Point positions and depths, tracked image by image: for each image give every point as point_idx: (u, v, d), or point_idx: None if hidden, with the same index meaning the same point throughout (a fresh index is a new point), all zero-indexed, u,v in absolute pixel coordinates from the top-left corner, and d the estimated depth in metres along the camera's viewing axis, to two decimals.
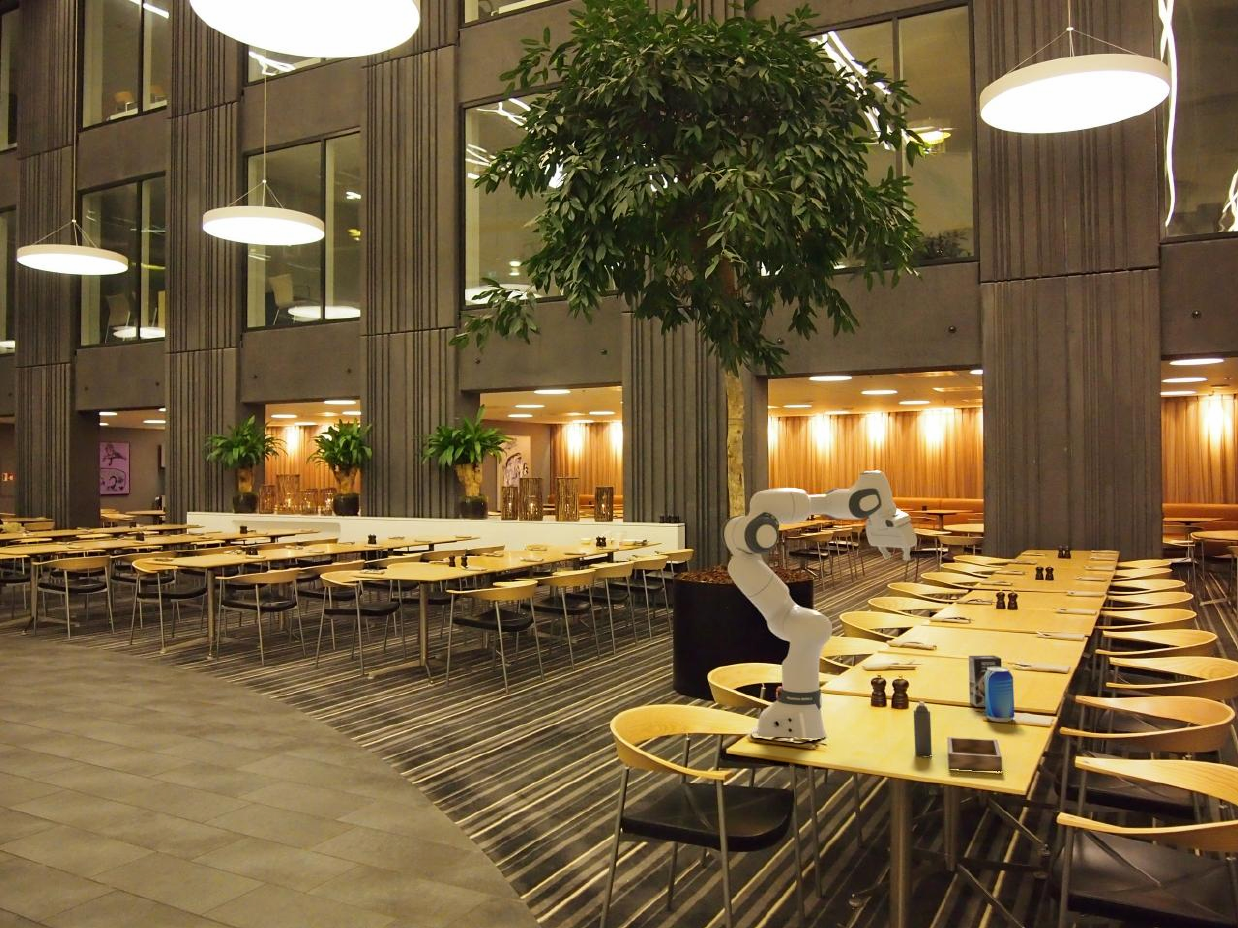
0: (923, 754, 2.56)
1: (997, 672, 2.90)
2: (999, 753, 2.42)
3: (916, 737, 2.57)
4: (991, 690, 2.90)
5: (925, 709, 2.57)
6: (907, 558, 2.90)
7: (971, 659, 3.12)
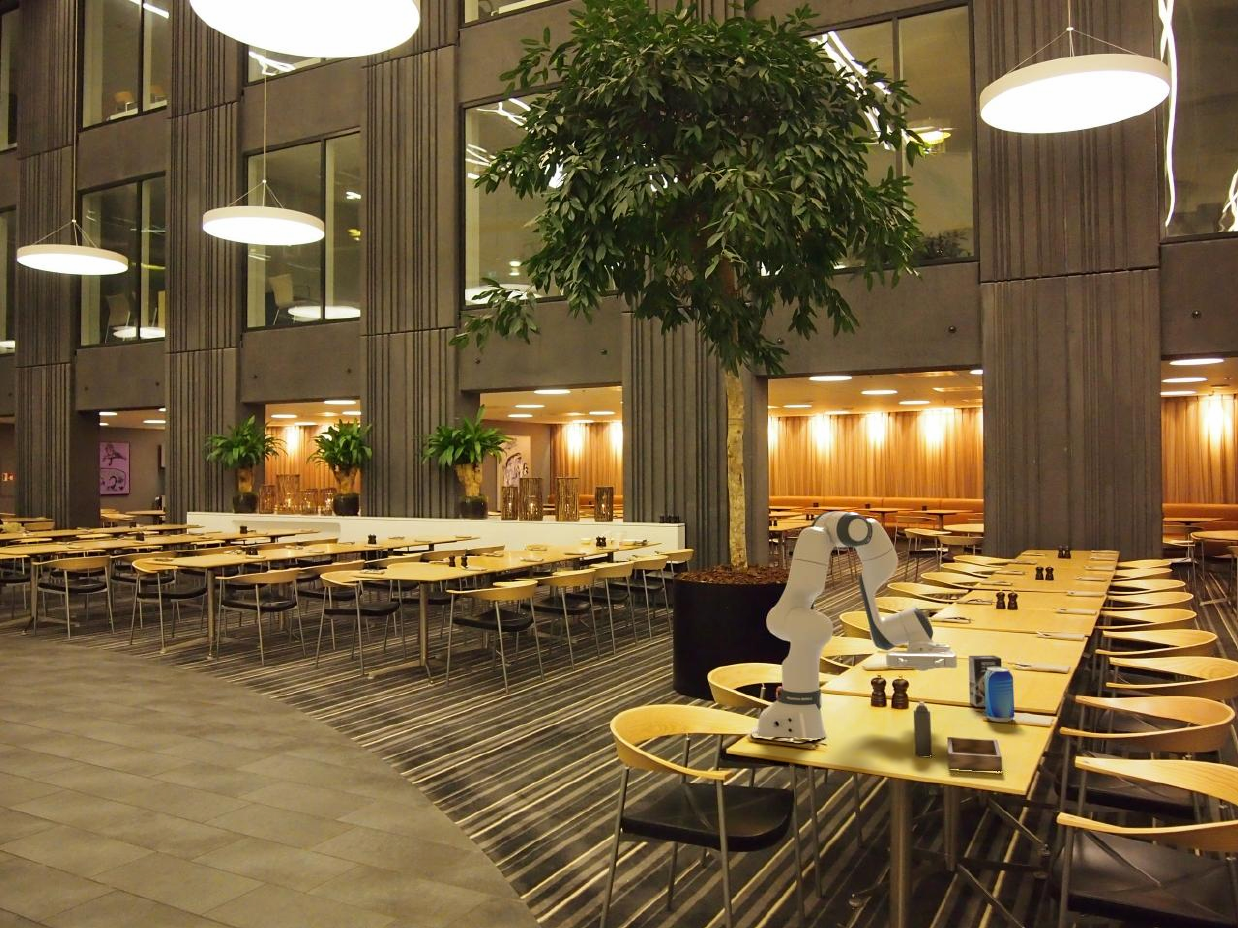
0: (923, 754, 2.56)
1: (997, 672, 2.90)
2: (999, 753, 2.42)
3: (916, 737, 2.57)
4: (991, 690, 2.90)
5: (925, 709, 2.57)
6: (940, 663, 2.71)
7: (971, 659, 3.12)
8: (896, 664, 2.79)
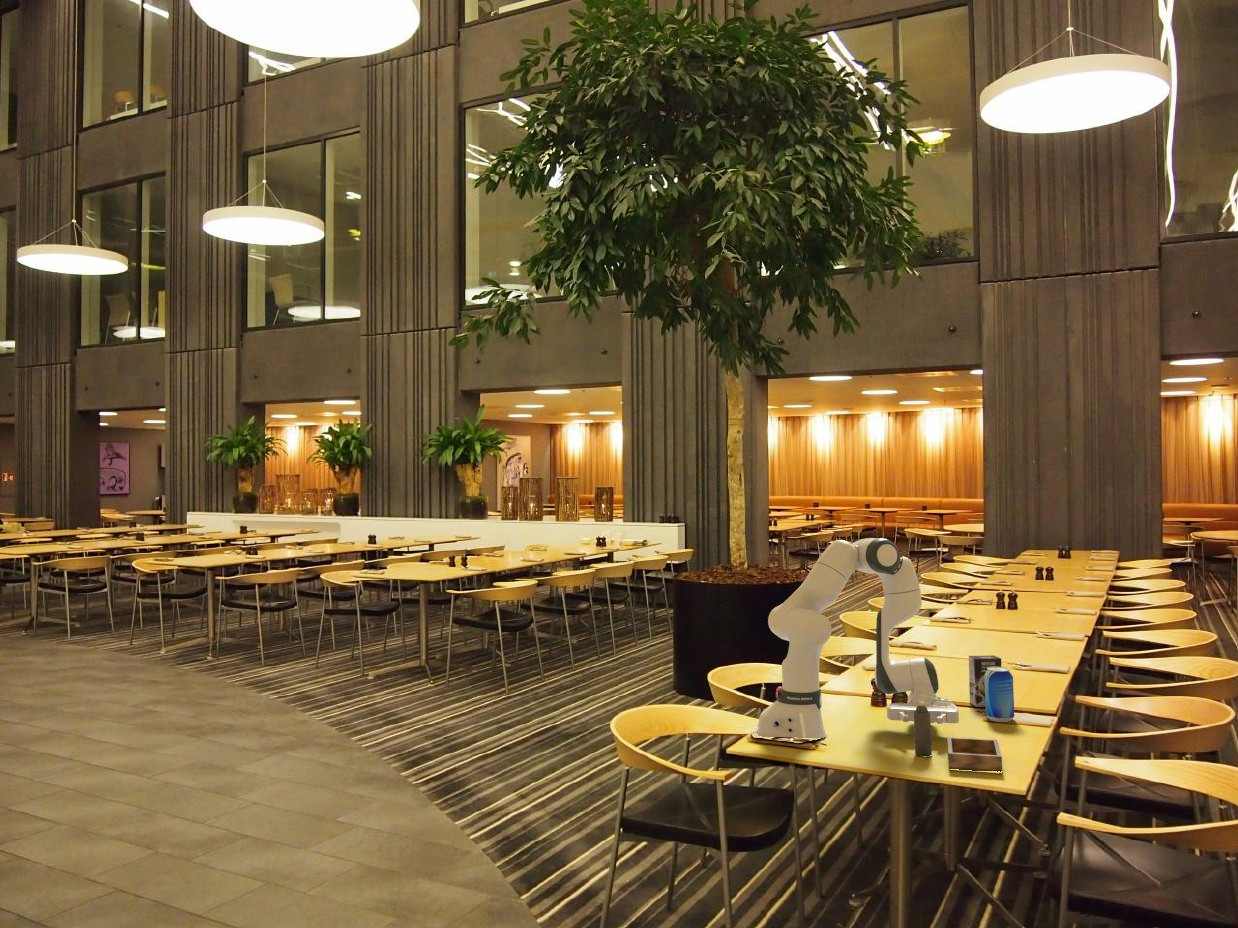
0: (923, 754, 2.56)
1: (997, 672, 2.90)
2: (999, 753, 2.42)
3: (916, 737, 2.57)
4: (991, 690, 2.90)
5: (925, 709, 2.57)
6: (942, 719, 2.65)
7: (971, 659, 3.12)
8: (897, 718, 2.73)
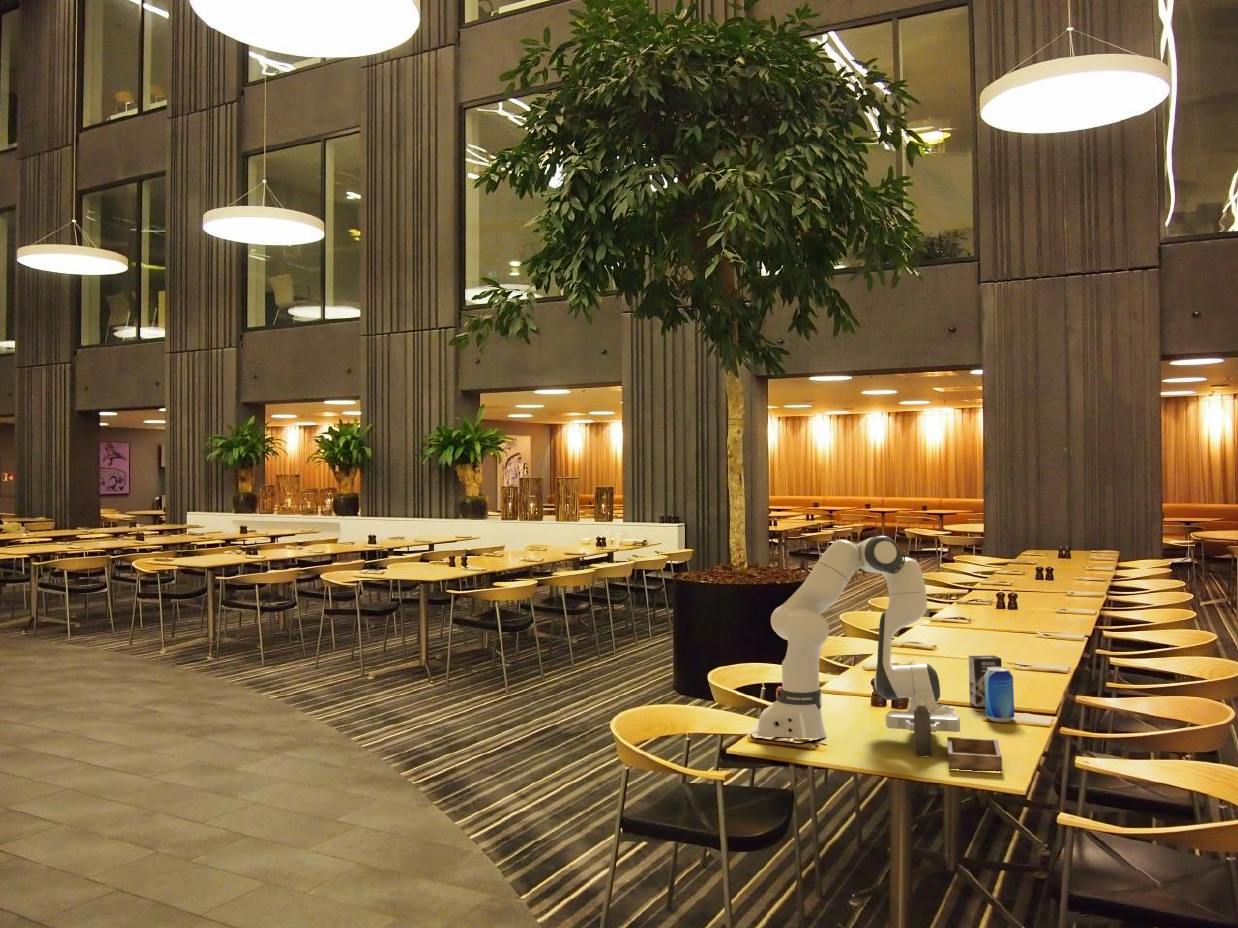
0: (923, 754, 2.56)
1: (997, 672, 2.90)
2: (999, 753, 2.42)
3: (916, 737, 2.57)
4: (991, 690, 2.90)
5: (925, 709, 2.57)
6: (936, 727, 2.57)
7: (971, 659, 3.12)
8: (896, 726, 2.64)
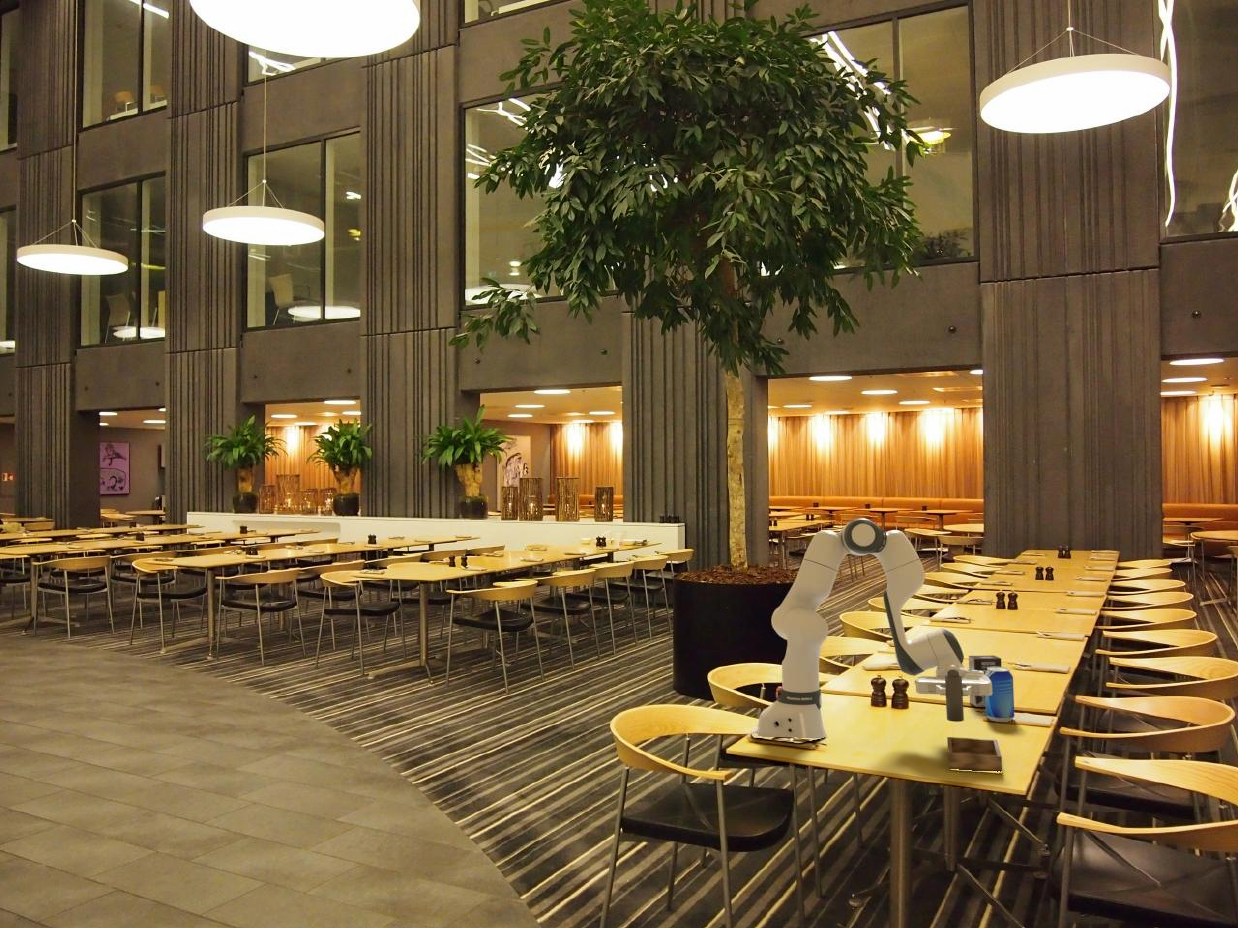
0: (955, 719, 2.51)
1: (997, 672, 2.90)
2: (999, 753, 2.42)
3: (948, 702, 2.52)
4: None
5: (957, 673, 2.52)
6: (968, 691, 2.52)
7: (971, 659, 3.12)
8: (926, 691, 2.59)
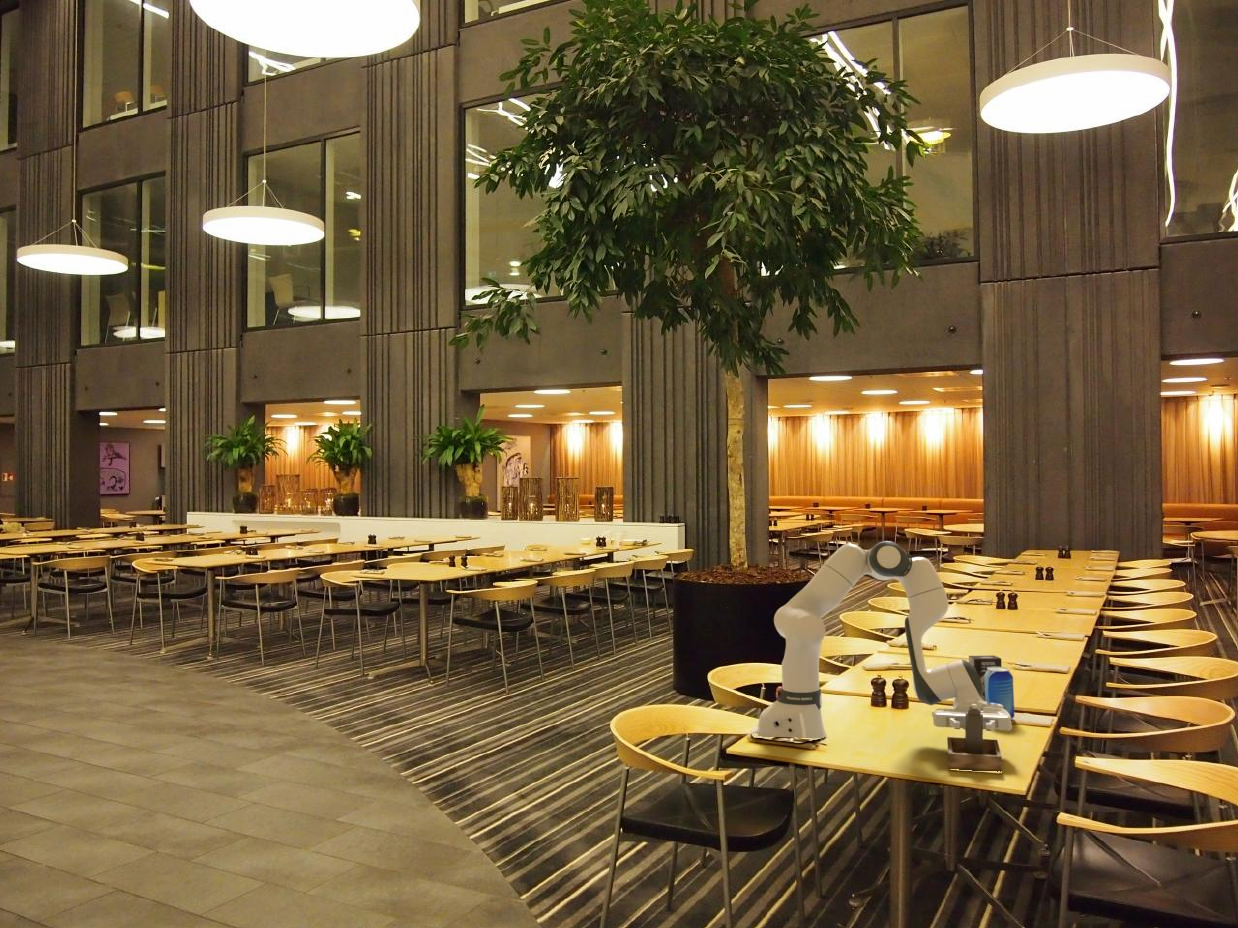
0: None
1: (997, 672, 2.90)
2: (999, 753, 2.42)
3: (967, 741, 2.48)
4: (991, 690, 2.90)
5: (978, 712, 2.48)
6: (991, 726, 2.48)
7: (971, 659, 3.12)
8: (944, 724, 2.55)
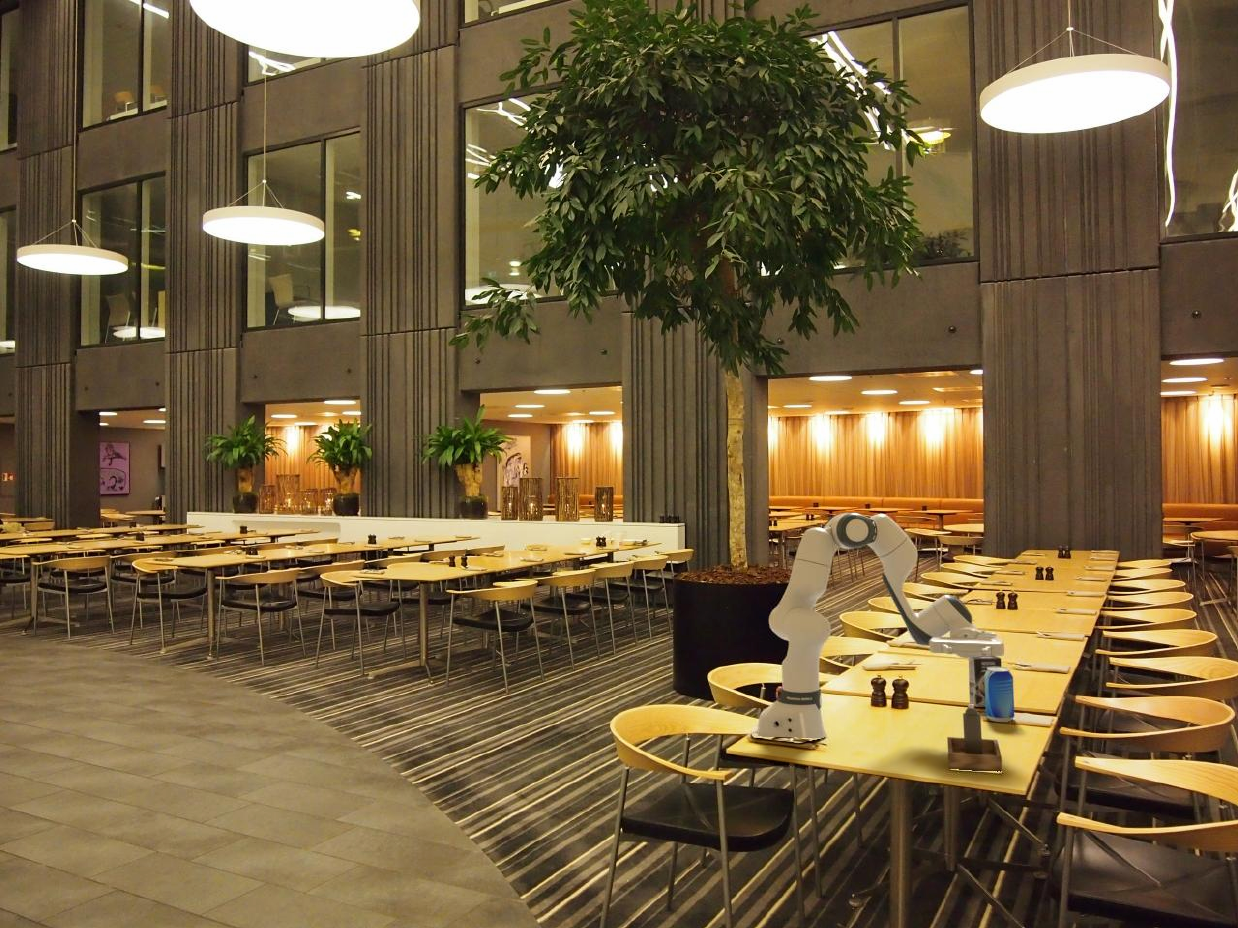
0: None
1: (997, 672, 2.90)
2: (999, 753, 2.42)
3: (966, 741, 2.49)
4: (991, 690, 2.90)
5: (975, 712, 2.48)
6: (987, 651, 2.60)
7: (971, 659, 3.12)
8: (940, 651, 2.68)
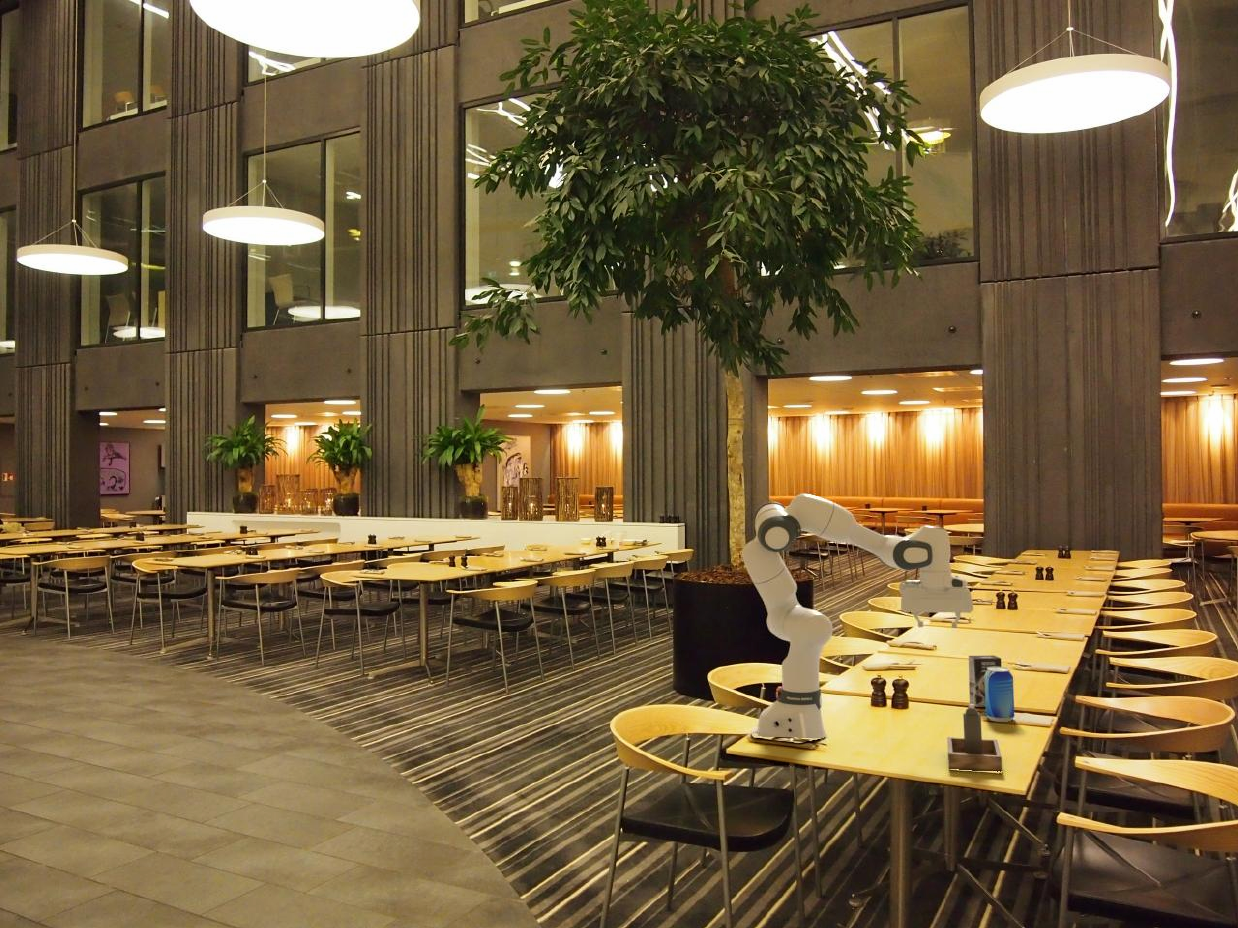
0: None
1: (997, 672, 2.90)
2: (999, 753, 2.42)
3: (966, 741, 2.49)
4: (991, 690, 2.90)
5: (975, 712, 2.48)
6: (956, 625, 2.70)
7: (971, 659, 3.12)
8: None
